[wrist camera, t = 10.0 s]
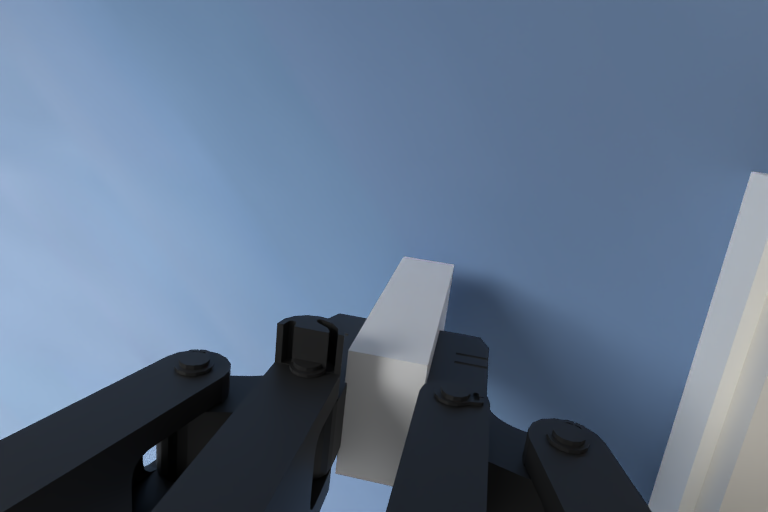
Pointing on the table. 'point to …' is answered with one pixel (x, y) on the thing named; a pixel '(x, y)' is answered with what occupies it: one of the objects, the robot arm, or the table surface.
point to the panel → (726, 385)
